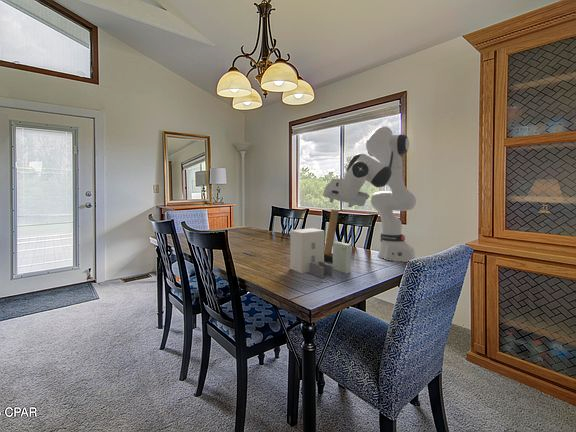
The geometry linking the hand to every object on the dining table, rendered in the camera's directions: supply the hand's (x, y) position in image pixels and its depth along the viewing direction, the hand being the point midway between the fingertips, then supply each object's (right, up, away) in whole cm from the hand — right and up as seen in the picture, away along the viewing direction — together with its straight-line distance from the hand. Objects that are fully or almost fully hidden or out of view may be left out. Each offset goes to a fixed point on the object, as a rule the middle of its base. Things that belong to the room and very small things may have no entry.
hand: (340, 203), depth 154 cm
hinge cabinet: (-13, -34, +1) cm, 36 cm away
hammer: (-3, -32, +23) cm, 40 cm away
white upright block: (+1, -34, +3) cm, 34 cm away
